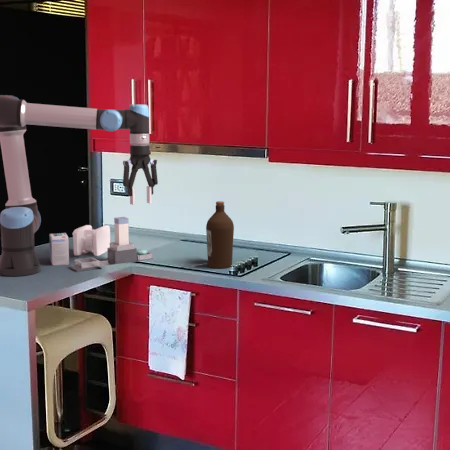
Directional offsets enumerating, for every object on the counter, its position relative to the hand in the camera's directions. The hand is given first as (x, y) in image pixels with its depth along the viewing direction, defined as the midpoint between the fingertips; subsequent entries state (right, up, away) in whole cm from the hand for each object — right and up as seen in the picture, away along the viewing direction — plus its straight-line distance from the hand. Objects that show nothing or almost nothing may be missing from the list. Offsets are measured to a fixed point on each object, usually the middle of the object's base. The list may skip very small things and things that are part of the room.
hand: (140, 203), depth 273 cm
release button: (0, -20, +4) cm, 20 cm away
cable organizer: (-22, -21, +15) cm, 34 cm away
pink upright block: (-7, -17, -2) cm, 19 cm away
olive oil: (+31, -24, -4) cm, 40 cm away
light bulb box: (-32, -23, +1) cm, 40 cm away
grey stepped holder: (-11, -24, -3) cm, 26 cm away
